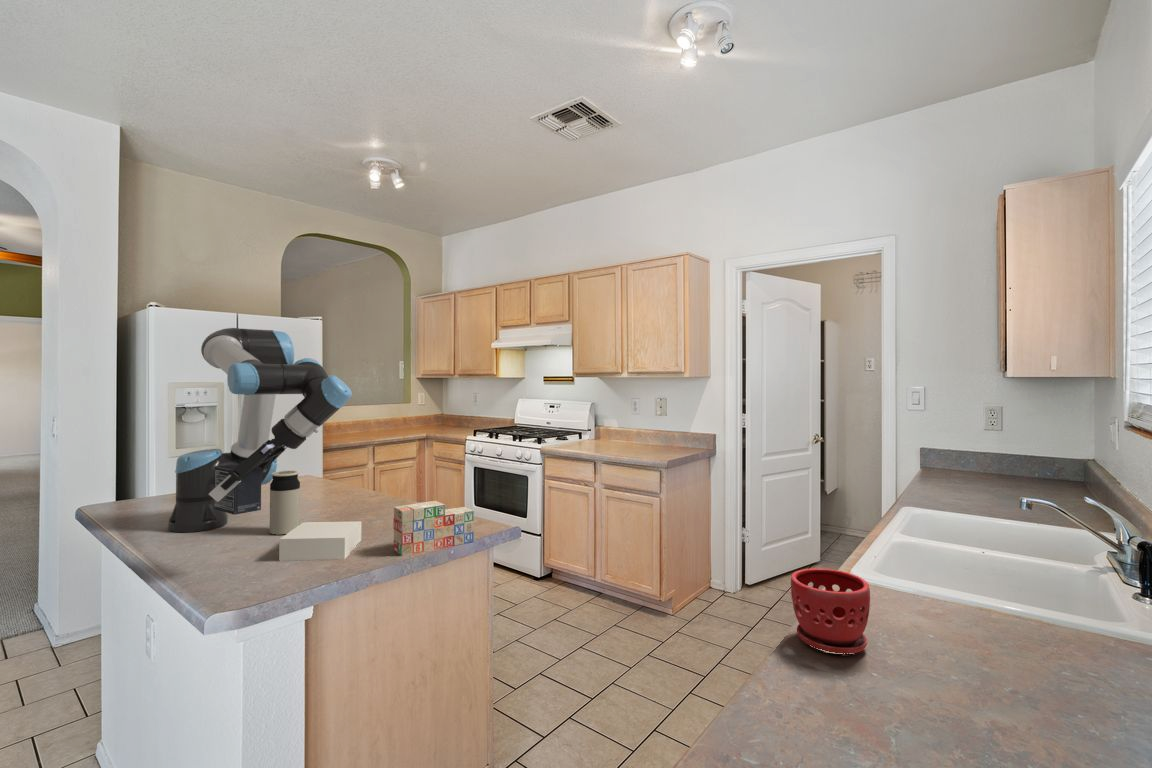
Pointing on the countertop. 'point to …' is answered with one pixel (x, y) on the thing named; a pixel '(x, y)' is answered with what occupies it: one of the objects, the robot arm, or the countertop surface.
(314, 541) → the cream block
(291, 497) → the travel mug
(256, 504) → the small box
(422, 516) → the stack of blocks
